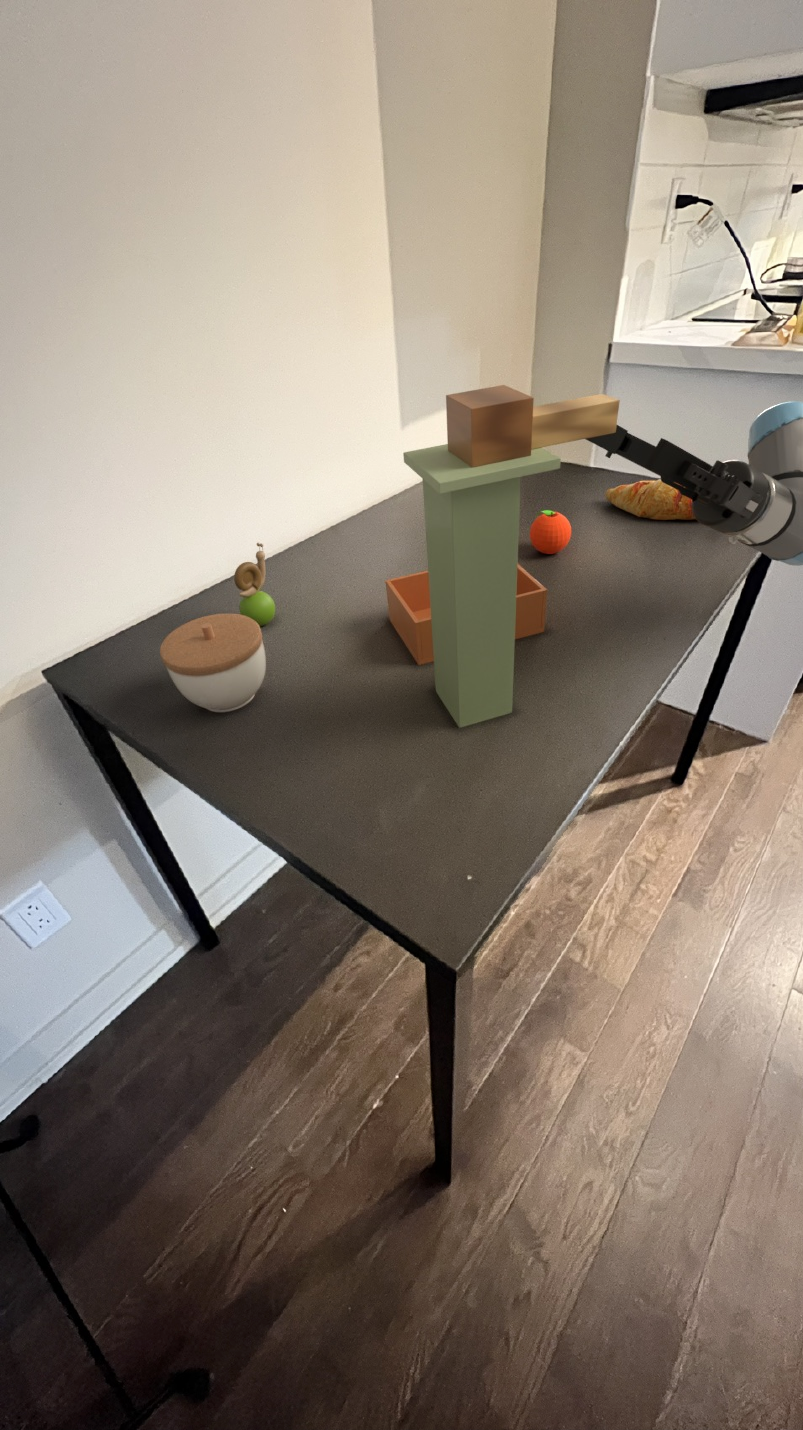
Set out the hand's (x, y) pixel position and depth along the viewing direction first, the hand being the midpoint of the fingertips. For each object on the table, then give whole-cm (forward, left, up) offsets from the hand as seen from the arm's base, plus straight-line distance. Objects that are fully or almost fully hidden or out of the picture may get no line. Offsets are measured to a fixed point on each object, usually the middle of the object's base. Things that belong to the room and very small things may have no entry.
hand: (613, 434), depth 63 cm
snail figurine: (+48, +12, -29) cm, 58 cm away
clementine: (+20, -30, -29) cm, 46 cm away
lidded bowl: (+38, +28, -29) cm, 56 cm away
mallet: (+5, +7, +1) cm, 9 cm away
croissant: (+9, -54, -29) cm, 62 cm away
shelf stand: (+8, +11, -29) cm, 32 cm away
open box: (+19, -2, -29) cm, 35 cm away
